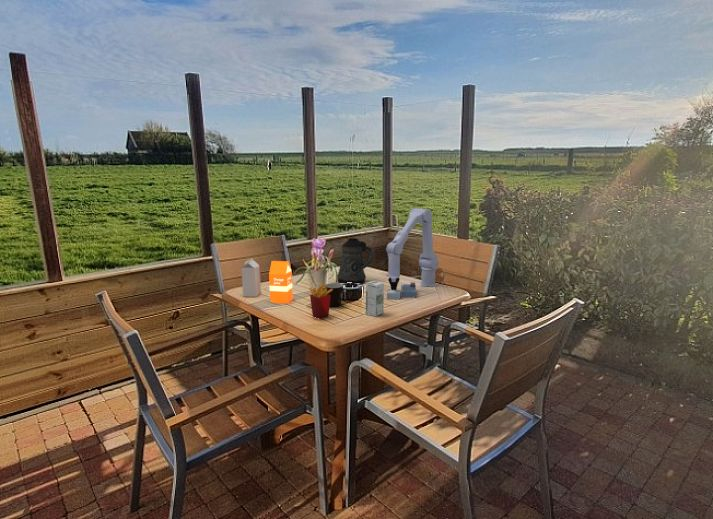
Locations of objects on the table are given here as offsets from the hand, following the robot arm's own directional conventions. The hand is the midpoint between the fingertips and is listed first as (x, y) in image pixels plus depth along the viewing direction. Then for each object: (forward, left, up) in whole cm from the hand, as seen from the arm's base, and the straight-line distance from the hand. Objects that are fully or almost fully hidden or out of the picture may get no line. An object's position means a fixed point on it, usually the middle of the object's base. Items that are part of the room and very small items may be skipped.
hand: (393, 292), depth 216 cm
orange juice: (+15, -55, -2) cm, 57 cm away
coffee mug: (+19, -27, -2) cm, 33 cm away
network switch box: (-3, +7, -2) cm, 8 cm away
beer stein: (-25, -24, -2) cm, 35 cm away
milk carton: (+7, -73, -2) cm, 73 cm away
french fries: (+36, -30, -2) cm, 46 cm away
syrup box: (+30, -8, -2) cm, 31 cm away
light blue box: (+4, 0, -2) cm, 4 cm away
